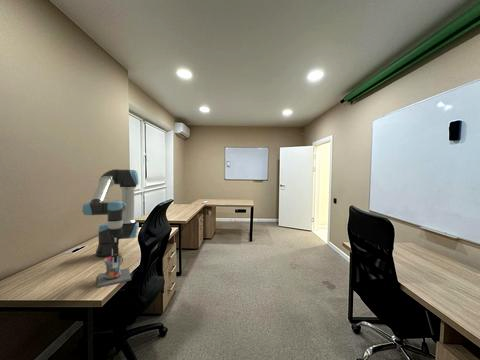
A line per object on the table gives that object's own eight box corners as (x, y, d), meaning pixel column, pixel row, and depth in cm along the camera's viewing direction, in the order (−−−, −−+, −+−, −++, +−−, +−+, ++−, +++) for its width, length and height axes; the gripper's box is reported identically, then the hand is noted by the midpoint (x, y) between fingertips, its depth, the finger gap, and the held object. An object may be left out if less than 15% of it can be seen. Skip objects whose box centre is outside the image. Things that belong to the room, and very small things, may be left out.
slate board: (98, 275, 126) (98, 273, 126) (128, 269, 134) (128, 268, 134) (97, 287, 112) (97, 285, 112) (131, 280, 121) (131, 278, 121)
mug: (113, 281, 117) (113, 262, 117) (99, 279, 119) (99, 260, 119) (129, 271, 129) (129, 254, 129) (116, 270, 131) (116, 253, 131)
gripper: (107, 223, 131) (107, 257, 132) (107, 233, 110) (107, 273, 111) (121, 222, 135) (120, 254, 136) (124, 231, 114) (123, 270, 115)
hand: (114, 263), depth 124 cm, fingers open, 13 cm apart
